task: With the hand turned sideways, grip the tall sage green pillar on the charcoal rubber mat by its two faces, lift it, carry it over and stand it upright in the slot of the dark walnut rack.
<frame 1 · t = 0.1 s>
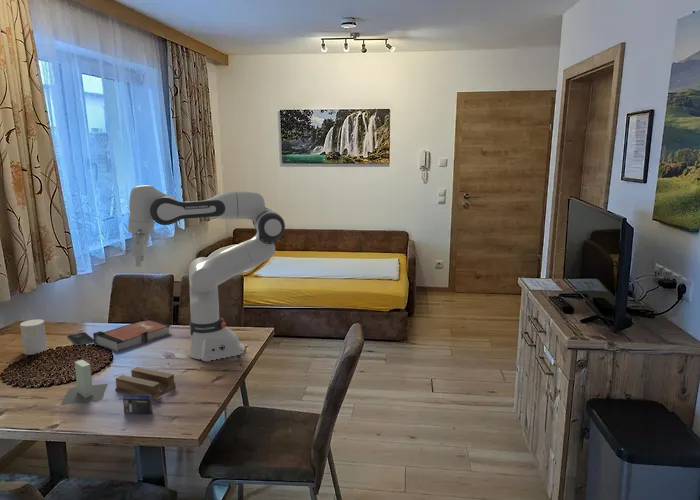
hand: (139, 263, 185), 39 cm above the table, tool pointing down, fingers open, 8 cm apart
cup: (35, 351, 199), on the table
book: (134, 339, 214), on the table
rack: (145, 388, 168), on the table
tall sage green pillar: (85, 393, 163), resting on mat
smartphone: (81, 340, 212), on the table
mini dv tape: (138, 413, 153), on the table
mat: (85, 394, 163), on the table
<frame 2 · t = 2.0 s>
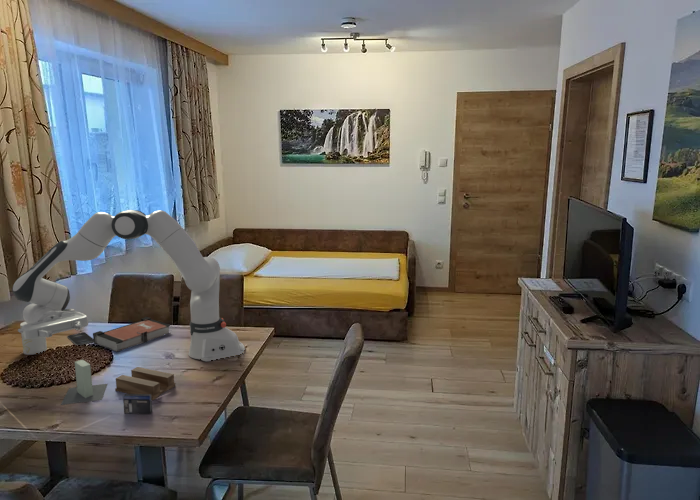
hand: (64, 331, 167), 20 cm above the table, tool horizontal, fingers open, 8 cm apart
nothing on the table moved.
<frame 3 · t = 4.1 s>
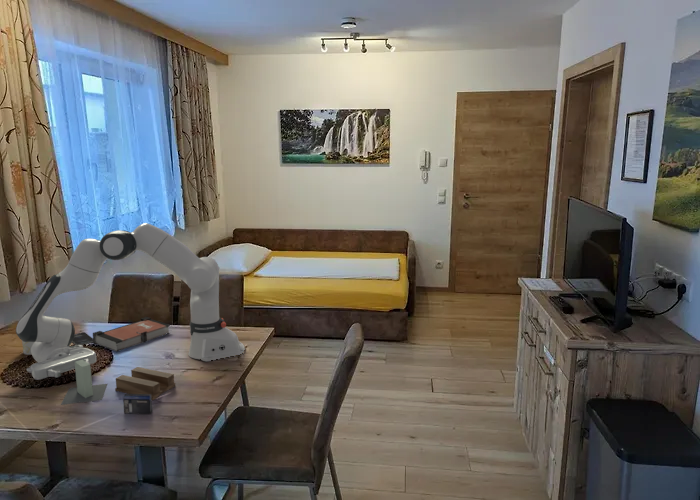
hand: (73, 370, 167), 6 cm above the table, tool horizontal, fingers open, 8 cm apart
nothing on the table moved.
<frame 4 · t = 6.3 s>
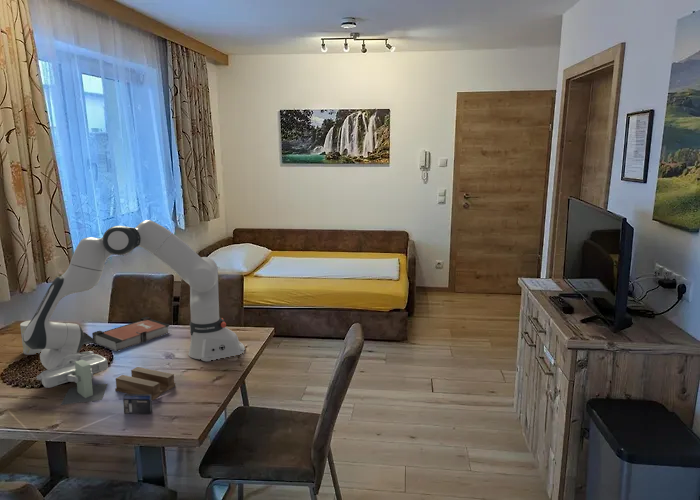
hand: (84, 377, 161), 6 cm above the table, tool horizontal, fingers closed on tall sage green pillar, 2 cm apart
tall sage green pillar: (85, 393, 163), resting on mat, touching gripper
everything else where it was.
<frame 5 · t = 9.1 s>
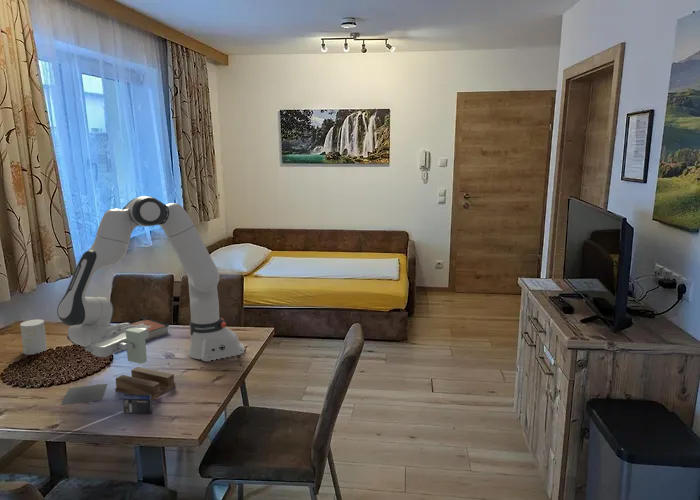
hand: (138, 344, 164), 17 cm above the table, tool horizontal, fingers closed on tall sage green pillar, 2 cm apart
tall sage green pillar: (137, 360, 165), point 11 cm above the table, touching gripper
when the fingers open (9 cm above the table, at t = 11.5 s): tall sage green pillar drops 2 cm, resting on rack.
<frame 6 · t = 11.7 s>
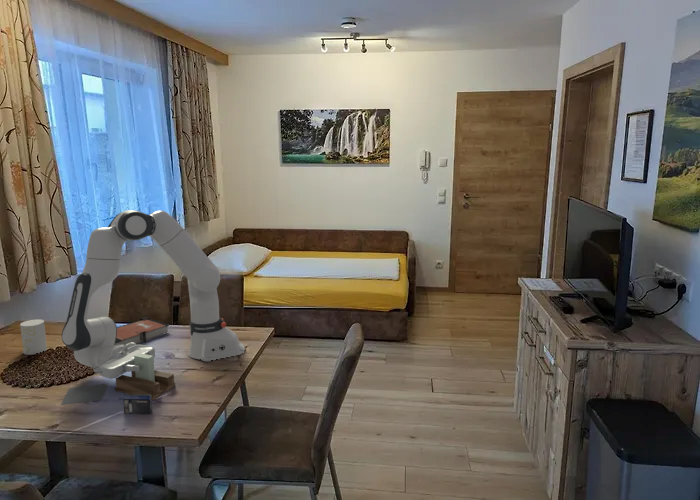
hand: (146, 365, 166), 9 cm above the table, tool horizontal, fingers open, 5 cm apart
tall sage green pillar: (145, 385, 168), point 1 cm above the table, touching rack
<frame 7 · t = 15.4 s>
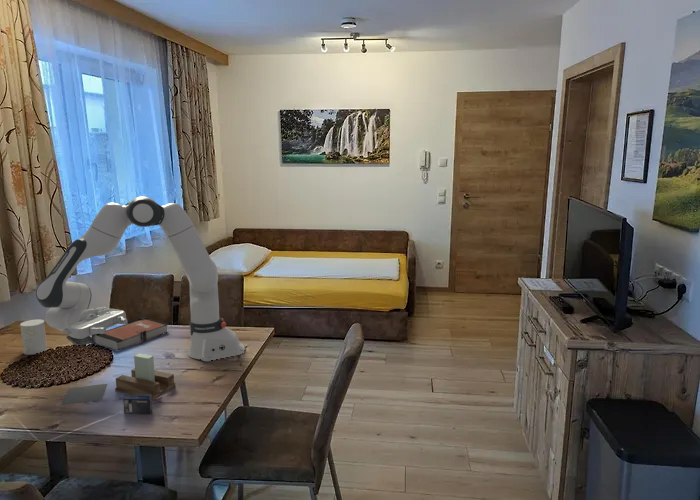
hand: (115, 326, 168), 21 cm above the table, tool horizontal, fingers open, 8 cm apart
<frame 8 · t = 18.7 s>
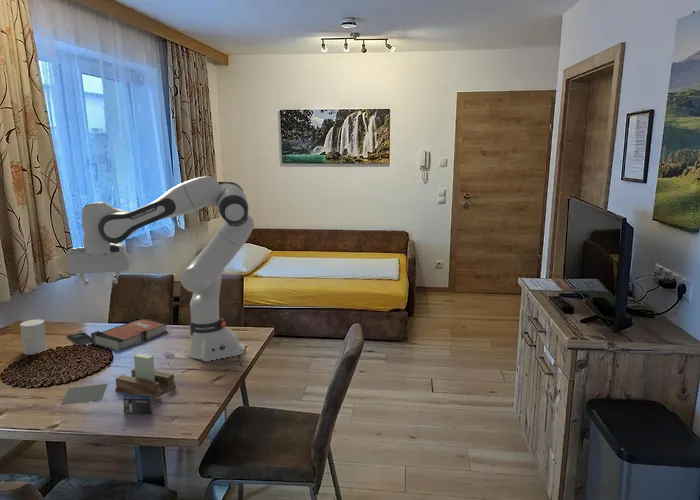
hand: (101, 284, 177), 33 cm above the table, tool pointing down, fingers open, 8 cm apart
at the end: tall sage green pillar 0.0 cm off-centre on the rack, point 1.2 cm above the rack's base; tall sage green pillar tilted 0°; the gripper is holding nothing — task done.
